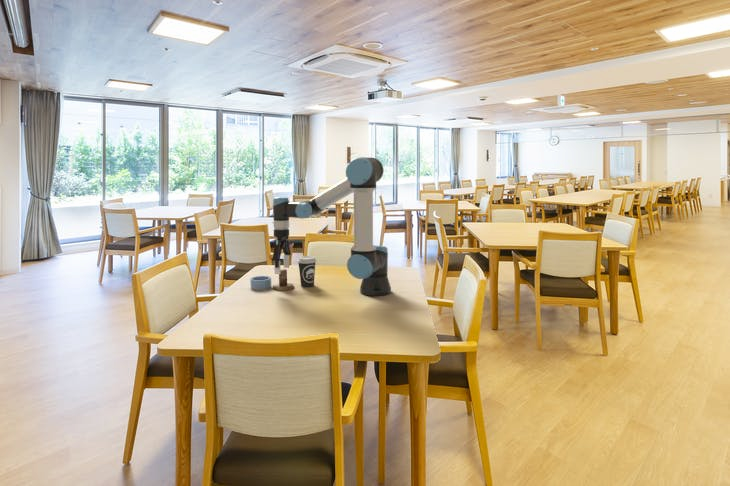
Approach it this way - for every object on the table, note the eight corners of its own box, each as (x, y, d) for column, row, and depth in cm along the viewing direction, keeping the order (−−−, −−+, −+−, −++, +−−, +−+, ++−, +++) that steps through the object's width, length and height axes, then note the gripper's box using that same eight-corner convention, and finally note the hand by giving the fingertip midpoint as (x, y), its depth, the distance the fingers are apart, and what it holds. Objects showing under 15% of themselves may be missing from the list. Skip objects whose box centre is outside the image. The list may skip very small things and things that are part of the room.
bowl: (275, 287, 238) (274, 277, 238) (259, 291, 231) (259, 281, 230) (262, 284, 245) (262, 275, 244) (246, 288, 237) (246, 278, 236)
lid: (298, 287, 237) (297, 269, 235) (282, 291, 229) (281, 273, 227) (284, 284, 243) (283, 266, 242) (268, 288, 235) (267, 270, 234)
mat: (299, 288, 237) (299, 287, 237) (282, 293, 228) (282, 292, 228) (284, 284, 244) (284, 283, 244) (267, 289, 235) (267, 288, 235)
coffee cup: (318, 284, 245) (318, 255, 243) (314, 288, 236) (314, 259, 233) (300, 283, 246) (299, 255, 244) (296, 288, 237) (295, 259, 234)
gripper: (282, 224, 244) (283, 264, 247) (264, 232, 219) (266, 276, 223) (296, 225, 243) (296, 265, 246) (280, 232, 218) (281, 277, 222)
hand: (282, 270), depth 235 cm, fingers open, 13 cm apart
